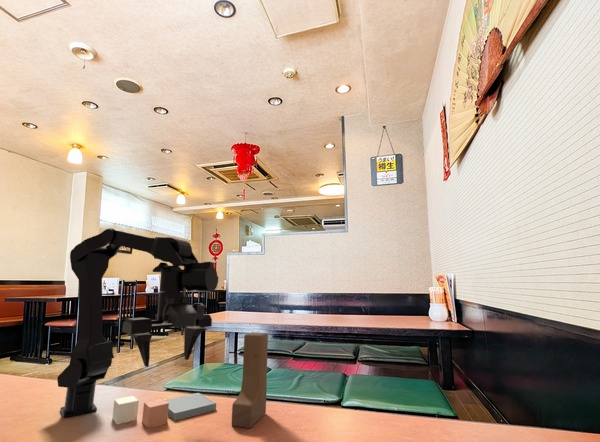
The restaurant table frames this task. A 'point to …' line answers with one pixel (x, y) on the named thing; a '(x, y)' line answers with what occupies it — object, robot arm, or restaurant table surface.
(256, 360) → the wooden block
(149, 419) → the terracotta brick
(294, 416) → the restaurant table surface
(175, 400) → the build plate
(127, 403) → the cream brick
